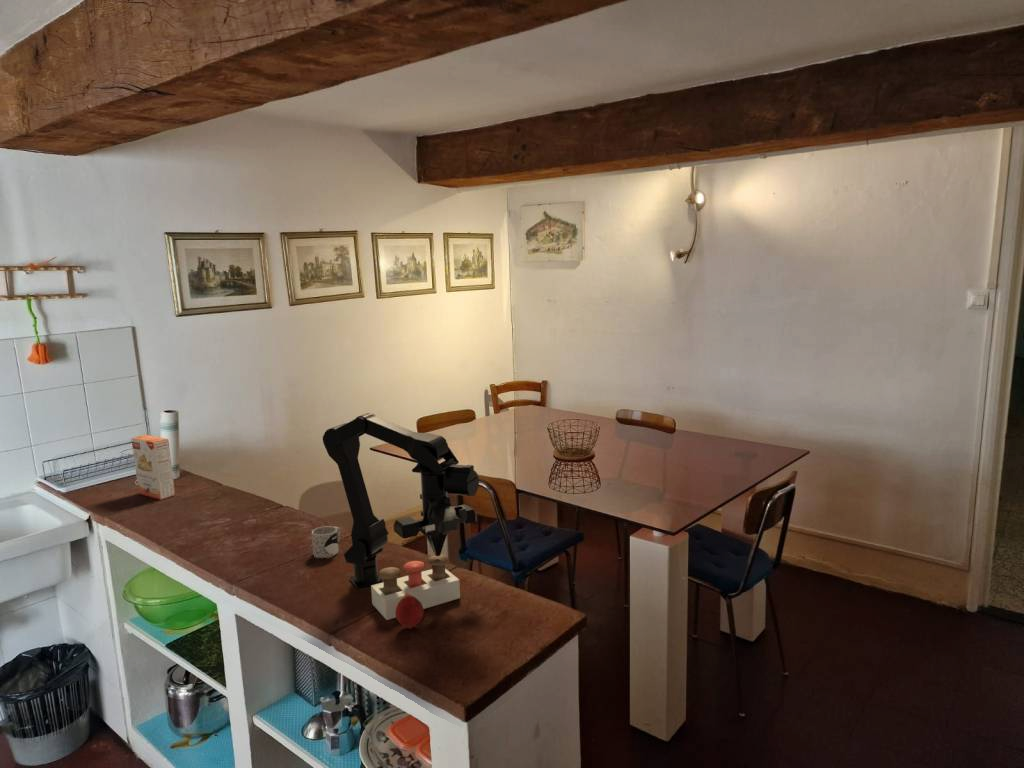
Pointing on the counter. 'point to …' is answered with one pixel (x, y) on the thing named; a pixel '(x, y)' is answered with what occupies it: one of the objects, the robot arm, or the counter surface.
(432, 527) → the robot arm
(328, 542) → the mug
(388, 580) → the walnut plunger near
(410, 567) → the red plunger
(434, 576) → the walnut plunger far
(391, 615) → the jig
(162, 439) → the cracker box
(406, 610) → the onion
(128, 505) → the counter surface
